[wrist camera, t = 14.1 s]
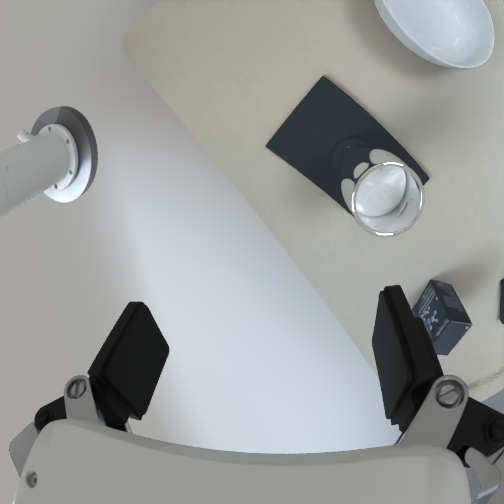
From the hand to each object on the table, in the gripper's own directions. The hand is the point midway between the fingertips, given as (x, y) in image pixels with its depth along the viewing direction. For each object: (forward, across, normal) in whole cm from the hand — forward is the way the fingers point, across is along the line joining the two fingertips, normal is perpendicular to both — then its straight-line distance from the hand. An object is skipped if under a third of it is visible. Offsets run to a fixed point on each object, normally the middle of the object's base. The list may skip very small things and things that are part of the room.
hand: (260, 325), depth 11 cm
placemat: (+28, -10, +1) cm, 30 cm away
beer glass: (+28, -10, +1) cm, 30 cm away
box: (+28, -25, +26) cm, 46 cm away
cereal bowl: (+28, -22, -20) cm, 42 cm away
